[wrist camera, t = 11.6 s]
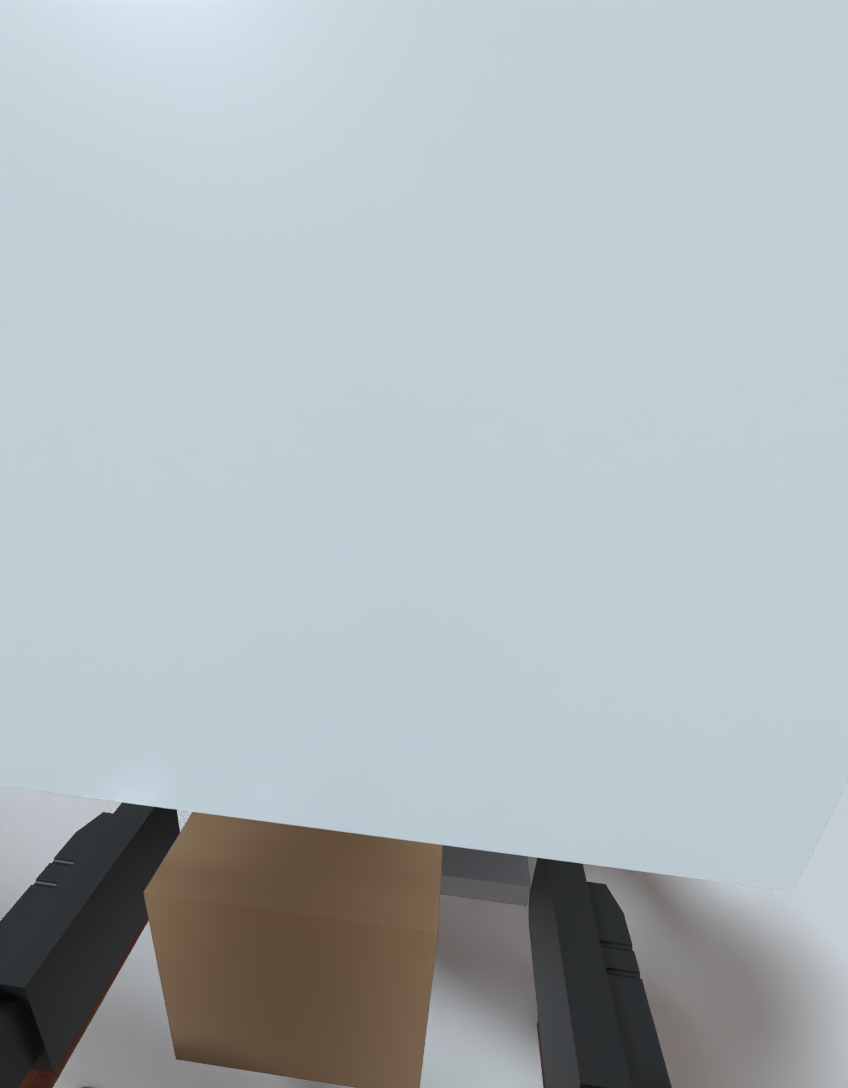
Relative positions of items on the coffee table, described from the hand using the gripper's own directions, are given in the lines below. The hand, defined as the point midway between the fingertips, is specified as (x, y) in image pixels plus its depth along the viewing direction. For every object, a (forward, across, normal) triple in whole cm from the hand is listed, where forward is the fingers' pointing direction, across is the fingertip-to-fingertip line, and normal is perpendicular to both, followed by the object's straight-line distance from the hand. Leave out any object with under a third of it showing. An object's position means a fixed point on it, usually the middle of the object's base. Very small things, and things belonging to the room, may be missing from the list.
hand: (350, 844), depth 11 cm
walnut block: (+4, 0, -1) cm, 4 cm away
